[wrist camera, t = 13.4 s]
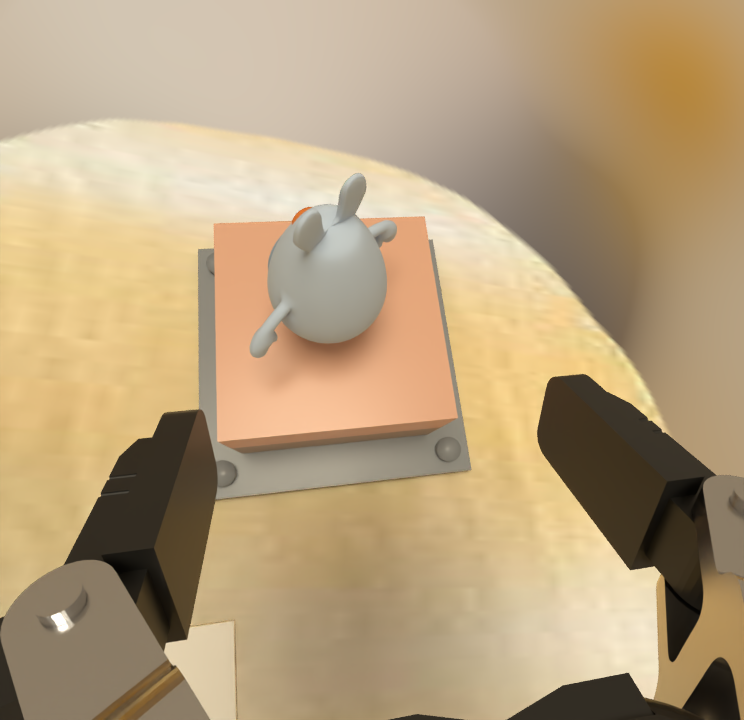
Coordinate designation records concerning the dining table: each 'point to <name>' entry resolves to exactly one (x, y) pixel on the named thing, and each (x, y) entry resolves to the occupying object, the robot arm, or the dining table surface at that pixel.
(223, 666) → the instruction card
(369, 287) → the toy figure
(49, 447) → the dining table surface
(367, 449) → the orange square pedestal
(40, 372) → the dining table surface
